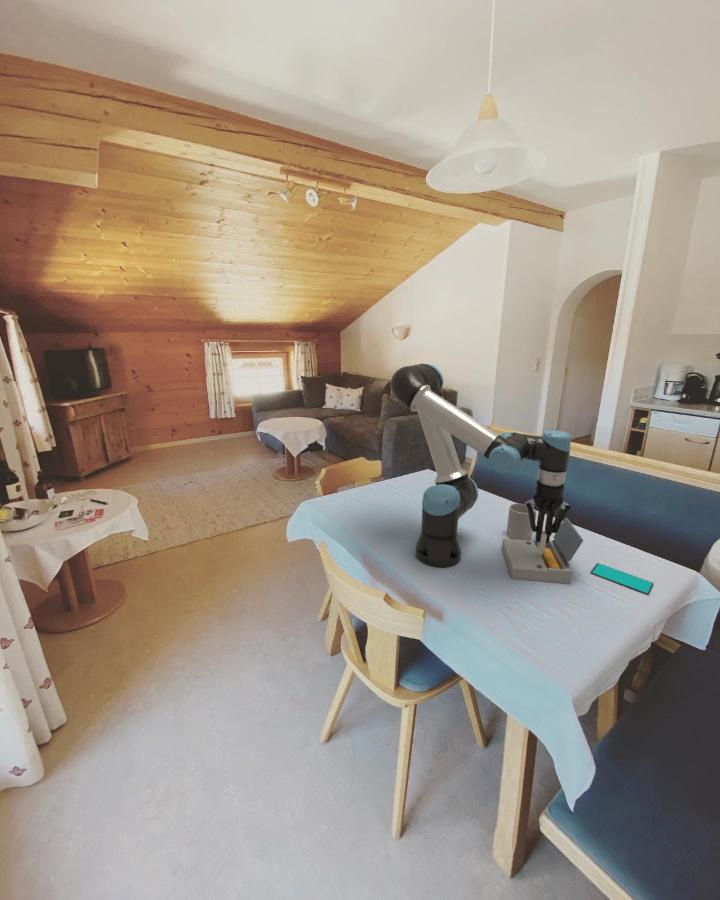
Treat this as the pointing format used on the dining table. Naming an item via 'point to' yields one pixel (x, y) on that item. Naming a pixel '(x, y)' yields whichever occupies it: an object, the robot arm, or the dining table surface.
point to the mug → (519, 522)
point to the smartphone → (622, 578)
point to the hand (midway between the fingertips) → (540, 550)
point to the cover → (567, 541)
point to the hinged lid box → (533, 562)
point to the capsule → (550, 559)
